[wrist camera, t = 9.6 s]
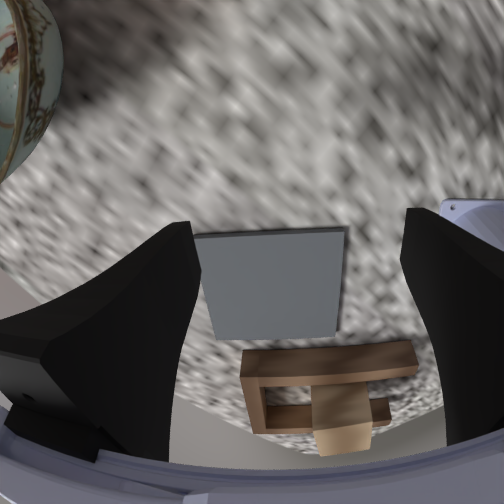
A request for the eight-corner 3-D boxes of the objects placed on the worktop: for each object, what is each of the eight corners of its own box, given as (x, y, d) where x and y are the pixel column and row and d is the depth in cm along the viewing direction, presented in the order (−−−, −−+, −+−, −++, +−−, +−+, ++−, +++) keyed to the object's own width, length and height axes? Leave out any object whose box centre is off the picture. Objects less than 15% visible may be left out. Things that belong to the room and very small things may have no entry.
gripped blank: (361, 357, 28) (372, 421, 22) (362, 393, 32) (369, 448, 26) (309, 365, 29) (312, 430, 23) (317, 400, 33) (320, 456, 27)
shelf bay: (410, 339, 26) (419, 365, 24) (384, 404, 33) (388, 425, 30) (242, 350, 28) (239, 377, 26) (255, 412, 35) (253, 433, 32)
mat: (343, 227, 21) (344, 231, 20) (334, 332, 26) (335, 336, 26) (193, 235, 22) (191, 239, 21) (216, 335, 27) (216, 339, 27)
